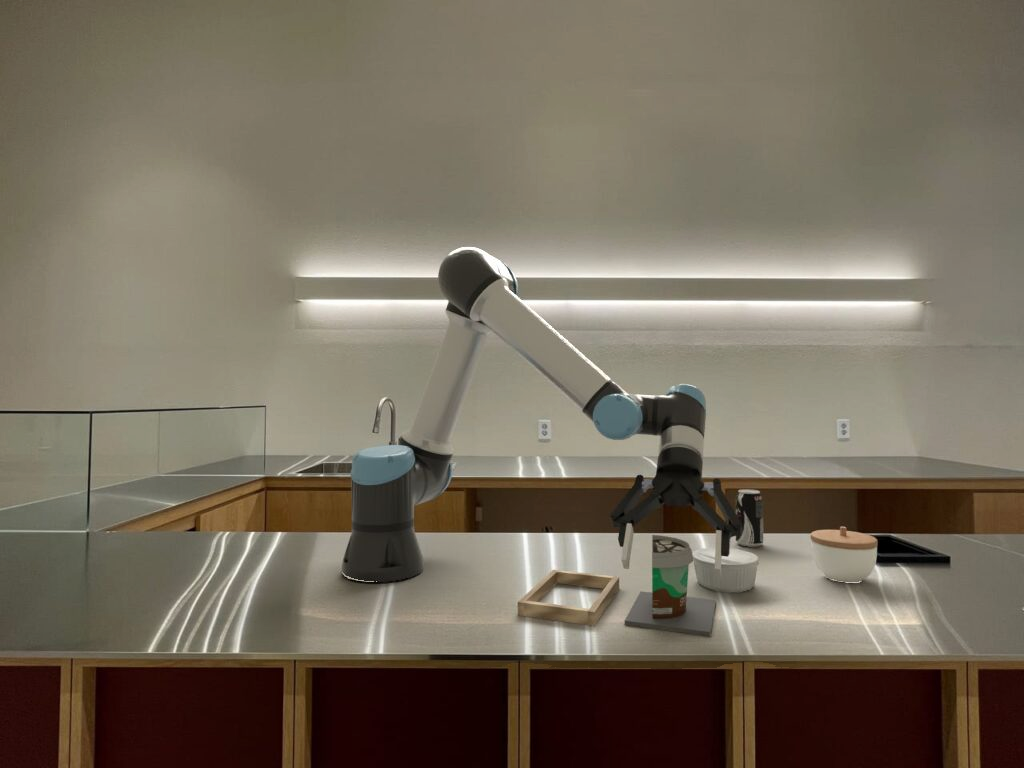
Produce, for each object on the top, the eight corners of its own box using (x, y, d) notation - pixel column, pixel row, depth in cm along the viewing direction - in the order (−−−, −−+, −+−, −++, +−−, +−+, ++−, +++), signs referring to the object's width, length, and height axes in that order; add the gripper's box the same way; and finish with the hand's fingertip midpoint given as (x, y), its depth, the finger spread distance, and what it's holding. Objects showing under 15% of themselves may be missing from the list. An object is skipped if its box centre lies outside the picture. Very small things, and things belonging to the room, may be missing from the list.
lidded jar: (874, 574, 114) (873, 523, 114) (881, 591, 104) (881, 536, 104) (810, 567, 118) (809, 518, 118) (811, 583, 109) (811, 530, 109)
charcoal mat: (624, 624, 90) (624, 620, 90) (640, 594, 103) (640, 591, 103) (710, 636, 85) (710, 632, 85) (715, 603, 98) (715, 599, 98)
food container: (696, 626, 87) (696, 556, 88) (652, 622, 89) (652, 553, 89) (691, 597, 99) (691, 536, 100) (652, 594, 101) (652, 534, 101)
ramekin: (689, 591, 105) (689, 560, 105) (694, 572, 115) (693, 545, 115) (760, 598, 101) (760, 566, 101) (757, 579, 112) (757, 550, 112)
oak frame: (517, 615, 94) (517, 601, 94) (553, 580, 110) (553, 569, 110) (594, 625, 89) (594, 612, 89) (619, 588, 106) (619, 576, 106)
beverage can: (733, 541, 139) (732, 488, 139) (759, 542, 138) (759, 488, 138) (739, 547, 133) (738, 492, 133) (766, 548, 132) (766, 493, 132)
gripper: (757, 475, 104) (759, 590, 90) (612, 468, 113) (593, 572, 99) (757, 446, 99) (759, 564, 85) (605, 442, 108) (584, 547, 94)
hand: (670, 569), depth 92 cm, fingers open, 13 cm apart
